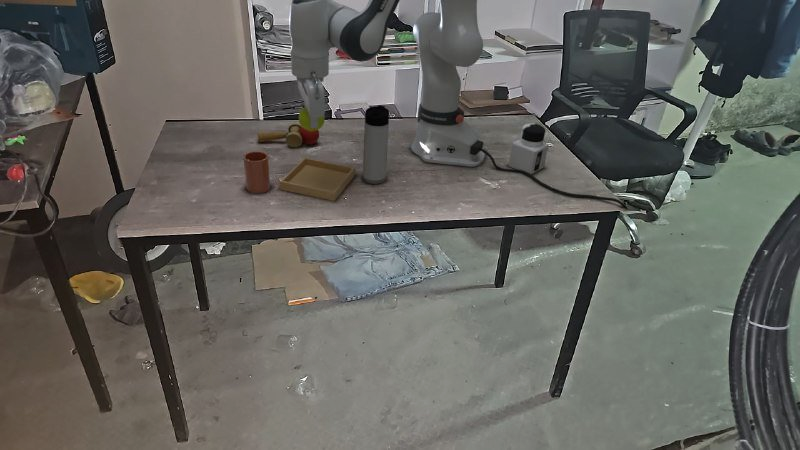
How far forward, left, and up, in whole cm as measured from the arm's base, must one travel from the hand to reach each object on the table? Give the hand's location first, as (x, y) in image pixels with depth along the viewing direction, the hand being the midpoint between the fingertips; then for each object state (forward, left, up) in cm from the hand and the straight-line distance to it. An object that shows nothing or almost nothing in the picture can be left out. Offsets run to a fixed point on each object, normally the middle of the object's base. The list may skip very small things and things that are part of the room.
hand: (311, 120), depth 140 cm
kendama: (+17, -20, -18) cm, 31 cm away
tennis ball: (0, 0, +1) cm, 1 cm away
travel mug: (-14, -9, -18) cm, 25 cm away
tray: (-1, -1, -18) cm, 18 cm away
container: (-53, -34, -18) cm, 66 cm away
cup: (+12, +8, -18) cm, 23 cm away
